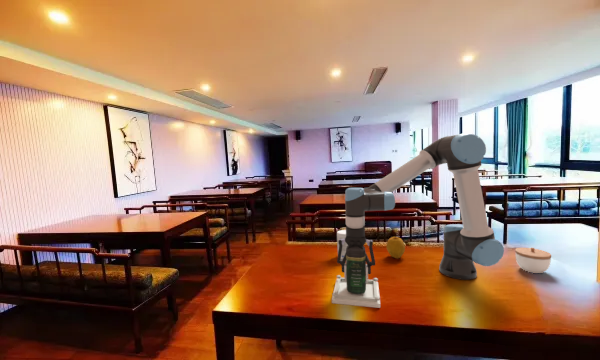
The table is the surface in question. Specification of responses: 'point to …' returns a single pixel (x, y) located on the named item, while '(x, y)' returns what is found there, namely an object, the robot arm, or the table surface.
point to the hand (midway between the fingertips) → (356, 280)
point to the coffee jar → (356, 270)
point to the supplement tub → (342, 235)
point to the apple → (395, 247)
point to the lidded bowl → (533, 259)
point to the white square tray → (364, 299)
